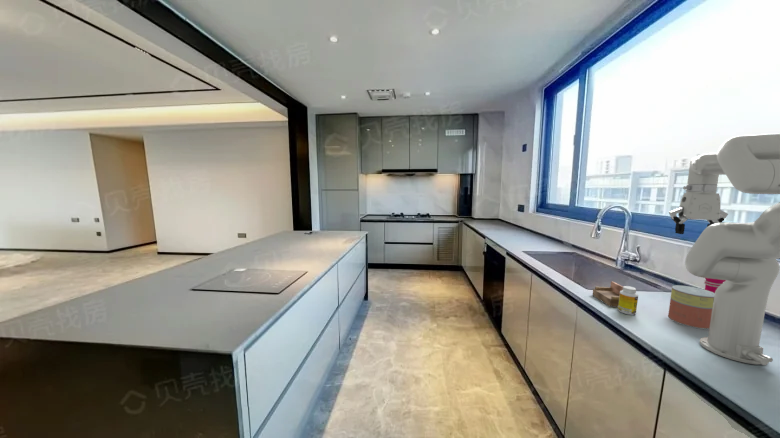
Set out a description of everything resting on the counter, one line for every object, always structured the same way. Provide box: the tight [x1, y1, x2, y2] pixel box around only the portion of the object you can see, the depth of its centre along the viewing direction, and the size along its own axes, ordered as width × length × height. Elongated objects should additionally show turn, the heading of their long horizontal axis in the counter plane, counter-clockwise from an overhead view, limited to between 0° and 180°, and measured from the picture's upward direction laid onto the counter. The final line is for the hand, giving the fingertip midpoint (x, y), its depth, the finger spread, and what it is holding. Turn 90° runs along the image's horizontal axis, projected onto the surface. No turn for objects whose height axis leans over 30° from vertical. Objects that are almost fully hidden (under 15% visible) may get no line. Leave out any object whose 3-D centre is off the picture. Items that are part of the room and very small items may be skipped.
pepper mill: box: [703, 278, 727, 293], centre depth 106 cm, size 7×7×20 cm
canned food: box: [667, 284, 715, 330], centre depth 101 cm, size 11×11×12 cm
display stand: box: [592, 281, 623, 308], centre depth 119 cm, size 12×8×7 cm, turn 173°
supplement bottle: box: [617, 285, 639, 316], centre depth 108 cm, size 6×6×10 cm
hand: (694, 234), depth 104 cm, fingers open, 9 cm apart
